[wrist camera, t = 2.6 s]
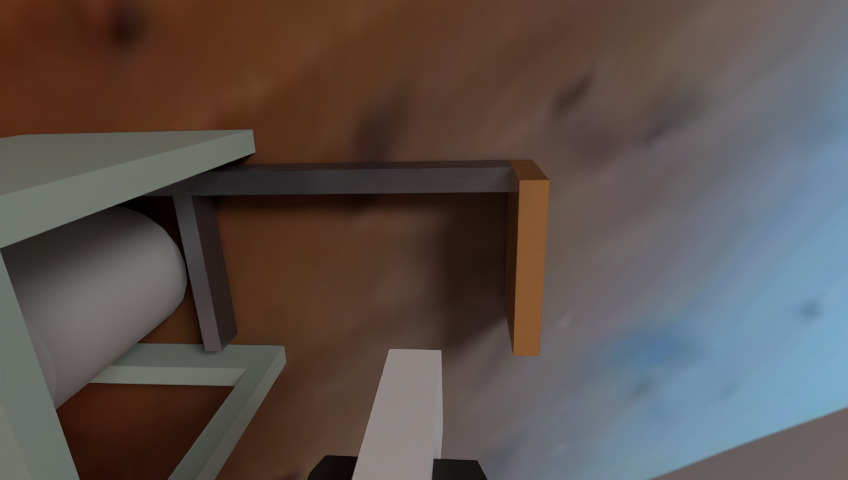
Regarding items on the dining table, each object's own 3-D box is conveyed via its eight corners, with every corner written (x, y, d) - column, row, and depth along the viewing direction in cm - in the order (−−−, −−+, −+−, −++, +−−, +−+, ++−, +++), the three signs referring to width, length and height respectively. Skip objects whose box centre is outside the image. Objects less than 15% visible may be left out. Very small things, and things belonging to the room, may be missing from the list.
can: (169, 337, 30) (-7, 497, 19) (59, 278, 29) (-197, 407, 18) (214, 244, 28) (41, 362, 16) (95, 176, 27) (-174, 251, 15)
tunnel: (93, 358, 31) (-266, 635, 16) (25, 134, 26) (-583, 218, 11) (286, 362, 30) (102, 662, 15) (252, 129, 25) (-73, 214, 10)
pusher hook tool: (68, 331, 30) (-5, 378, 25) (17, 168, 27) (-78, 188, 22) (524, 337, 28) (537, 391, 23) (532, 159, 24) (549, 180, 20)
